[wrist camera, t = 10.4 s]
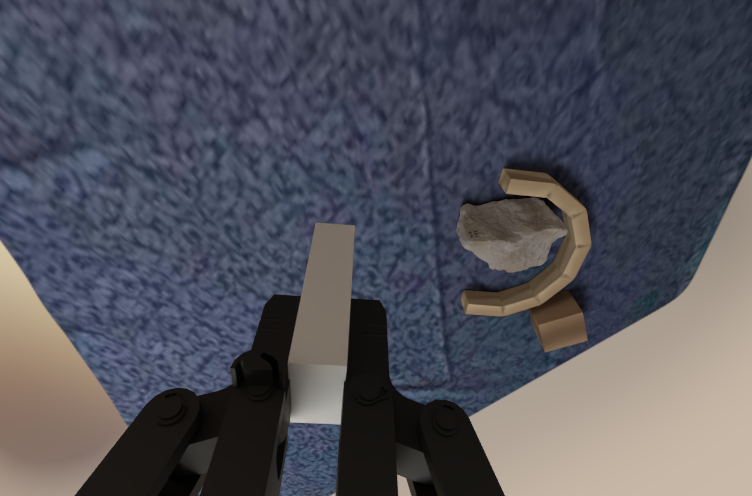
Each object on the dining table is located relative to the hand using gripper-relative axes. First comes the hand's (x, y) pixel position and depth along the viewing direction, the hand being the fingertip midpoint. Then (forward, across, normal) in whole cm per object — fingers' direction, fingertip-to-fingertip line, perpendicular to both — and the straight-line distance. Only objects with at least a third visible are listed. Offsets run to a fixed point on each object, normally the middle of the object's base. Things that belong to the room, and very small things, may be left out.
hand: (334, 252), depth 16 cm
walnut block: (+23, +26, -24) cm, 42 cm away
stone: (+23, +16, -12) cm, 31 cm away
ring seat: (+23, +20, -14) cm, 34 cm away
